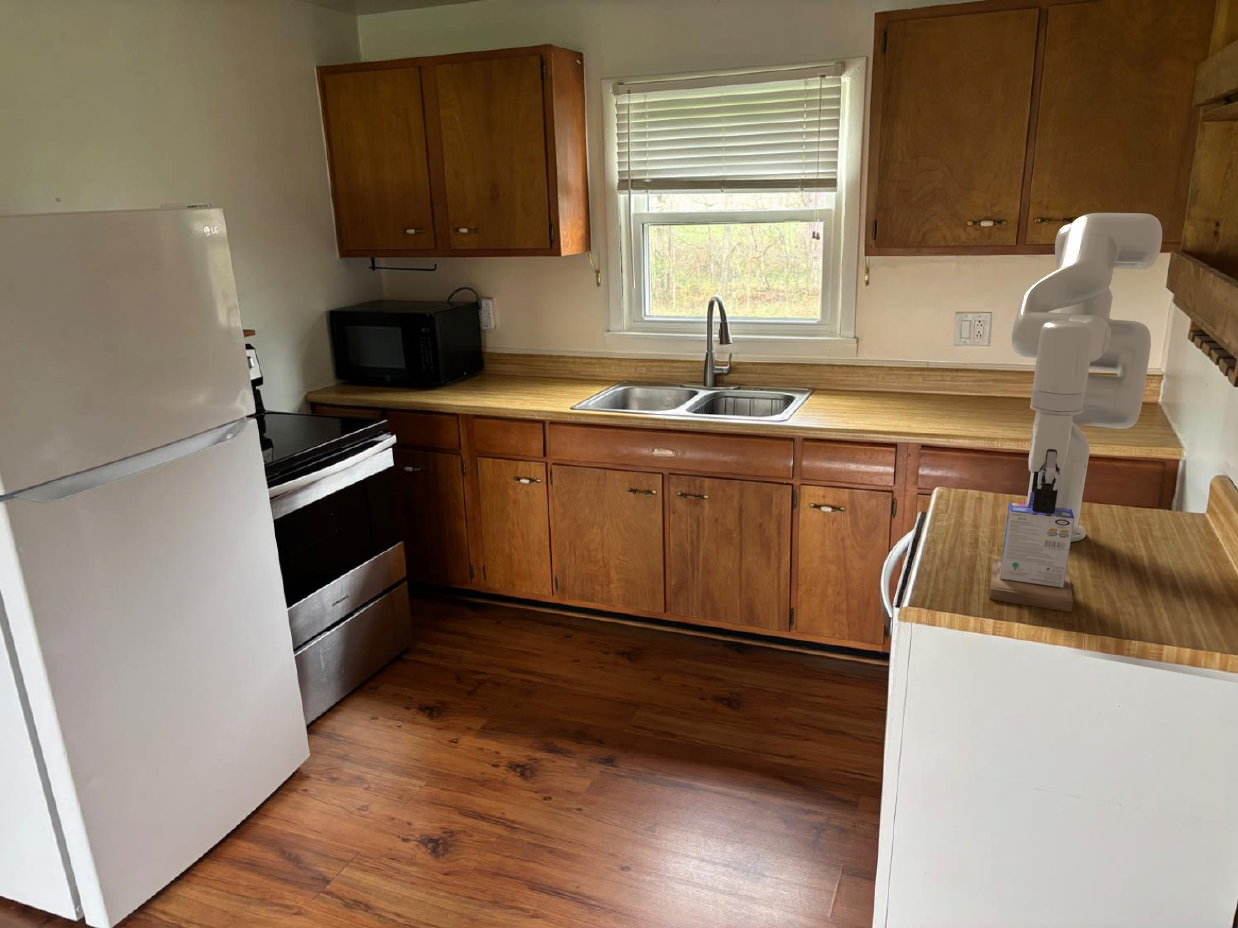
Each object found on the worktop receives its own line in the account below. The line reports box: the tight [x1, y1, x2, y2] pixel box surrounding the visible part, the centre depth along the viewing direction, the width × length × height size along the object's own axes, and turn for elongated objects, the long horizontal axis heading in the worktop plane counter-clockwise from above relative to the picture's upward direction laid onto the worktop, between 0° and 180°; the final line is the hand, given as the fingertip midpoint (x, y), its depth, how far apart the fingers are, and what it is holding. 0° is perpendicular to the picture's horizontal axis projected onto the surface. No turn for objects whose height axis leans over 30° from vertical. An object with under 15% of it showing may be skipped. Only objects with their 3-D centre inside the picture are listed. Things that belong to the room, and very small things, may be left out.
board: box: [989, 558, 1074, 613], centre depth 149 cm, size 14×12×2 cm
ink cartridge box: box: [1000, 492, 1074, 587], centre depth 146 cm, size 10×6×14 cm, turn 68°
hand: (1042, 502), depth 145 cm, fingers open, 9 cm apart
